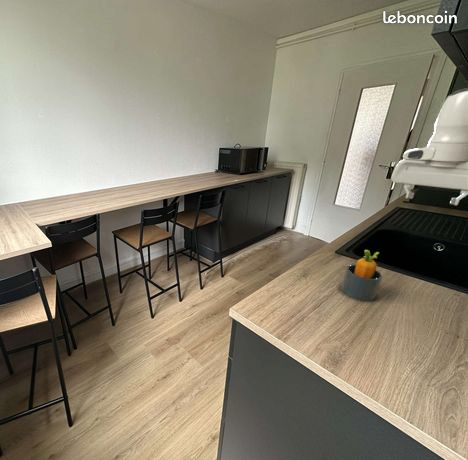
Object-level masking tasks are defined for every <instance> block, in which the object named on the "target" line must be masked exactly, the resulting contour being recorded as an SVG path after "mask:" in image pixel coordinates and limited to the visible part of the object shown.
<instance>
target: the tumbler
mask: <svg viewBox="0 0 468 460" xmlns="http://www.w3.org/2000/svg"><path fill="white" fill-rule="evenodd" d="M356 264H357V263H355V264H350V265H349V264H348V265H347V266H346V269H345V273H344V276H343V280H342V282H341V287H340V289H341V291H342V292H343V293H344V294H345V295H346V296H348V297H350V298H351V299H354V300H358V301H363V302H370V301H373V300H375V298H376V296H377V293H378V291H379V287H380V284H381V282H382V279H383V274H382V273H381V272H380V271H378V270H377V269H376V270H375V273H374V275H373V277H372V279H367V278H363V277H360V276H357V275H355V274H354V272H355V268H356Z"/></svg>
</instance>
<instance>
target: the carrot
mask: <svg viewBox="0 0 468 460" xmlns="http://www.w3.org/2000/svg"><path fill="white" fill-rule="evenodd" d="M379 254H380V252H379V251H376V252H374V254H373V255H372V254H371V252H370V250H368V249H364V255H363V257H362V258H360V259H358V260H356V263H355V264H356V268H355V272H354V274H355V275H357V276H360V277H363V278H367V279H372V277H373V275H374V273H375V270H377V268H378V264H377V263H376V262H375V260H374V259H378V256H379Z"/></svg>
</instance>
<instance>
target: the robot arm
mask: <svg viewBox="0 0 468 460" xmlns="http://www.w3.org/2000/svg"><path fill="white" fill-rule="evenodd" d="M390 180H391V181H392V183H396V184H404V185H403V189H404V191H405V193H406V194H405V199H407V200H413V198H414V195H415V192H413V191H411V188H412V186H413V185H415V186H425V187H432V188H443V189H453V190H460V195H459V196H458V197H451V199H450V202H449V205H451V206H458V205H459V203H460V200H462V199H463V198H465V197H467V196H468V87H465V88H460V89H458V90H455V91H453V92H452V93H450V94H449V95H448V96H447V97H446V98H445V100H444V102H443V104H442V106H441V108H440V111H439V112H438V115H437V118H436V121H435V123H434V132H433V135H432V136H431V137H430V139H429V141H428V144H427V146H420V147H418V148H413V149H408V150H406V151H404V153H403V154H402V159H401V160H399V161H398V163H397V164H396V166H395V167H394V169H393V172H392V174H391V177H390Z"/></svg>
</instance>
